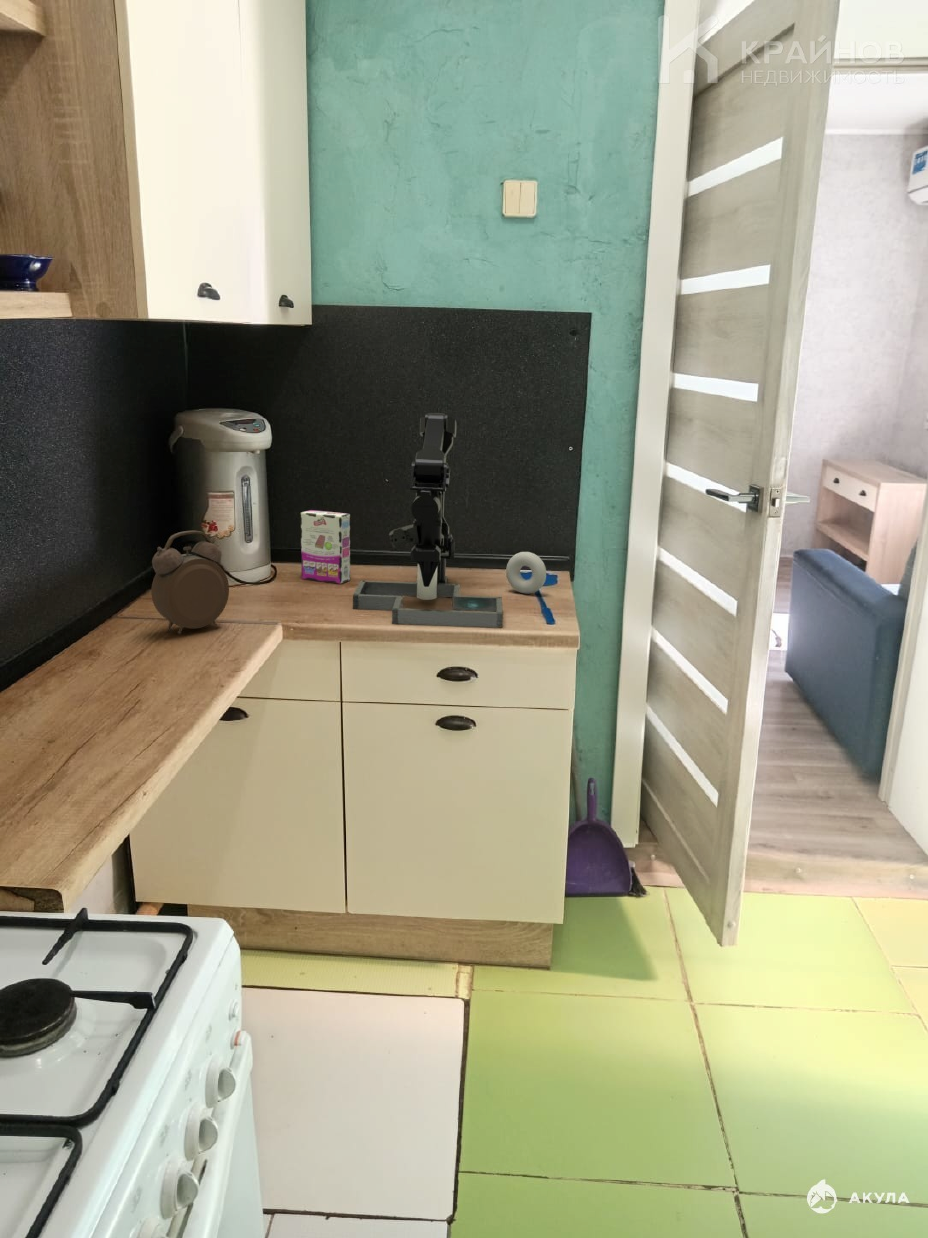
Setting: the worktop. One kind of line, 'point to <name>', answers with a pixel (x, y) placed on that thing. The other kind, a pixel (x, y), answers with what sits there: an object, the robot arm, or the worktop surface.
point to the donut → (536, 568)
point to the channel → (391, 596)
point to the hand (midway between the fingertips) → (427, 583)
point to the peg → (426, 592)
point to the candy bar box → (325, 546)
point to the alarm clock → (189, 583)
